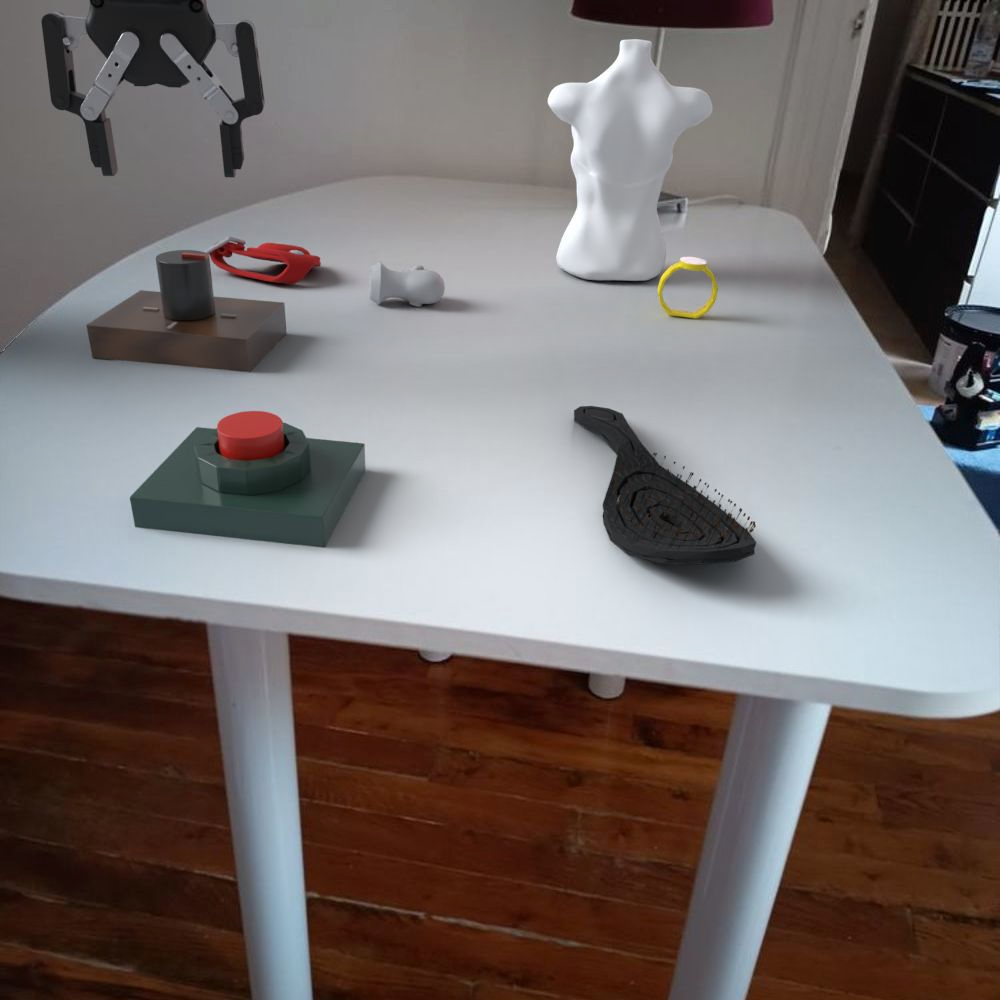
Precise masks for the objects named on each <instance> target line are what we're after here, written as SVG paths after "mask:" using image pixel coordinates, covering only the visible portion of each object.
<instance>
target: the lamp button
mask: <svg viewBox="0 0 1000 1000" xmlns="http://www.w3.org/2000/svg"><path fill="white" fill-rule="evenodd" d="M283 422H284V421H283V420H282V418H281V417H280V416H279V415H277V414H275V413H272V412H269V411H268V412H267V411H261V410H245V411H239V412H234V413H231V414H228V415H227V416H224V417H223V418H221V419H220V420H219V421H218V422H217V425H216V428H217V432H218V440H219V448H220V453H221V455H222V456H224V457H226V458H228V459H234V460H244V461H251V460H258V459H265V458H270V457H272V456H275V455H277V454H279V453H281V452H283V450H284V448H285V445H284V432H283Z"/></svg>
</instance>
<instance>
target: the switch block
mask: <svg viewBox="0 0 1000 1000" xmlns="http://www.w3.org/2000/svg"><path fill="white" fill-rule="evenodd" d="M282 422H283V432H284V445H285V448H284V450H283V452H281V453H279V454H277V455H275V456H272V457H270V458H265V459H258V460H251V461H244V460H234V459H228V458H226V457H224V456H222V455H221V453H220V448H219V440H218V432H217V427H216V428H210V427H201V426H196V427H195V428H194V430H192V432H191V433H189V434H188V435H187V437H186V438H185V439H183V441H182V442H181V443H180V444H179V445H178V446H177V447H176V448H175V449H174V450H173V451H172V452H171V453H170V454H169V455H168V457H166V459H164V461H163V462H162V463H161V464H160V465H159V466H158V467H157V468H156V469H155V470H154V471H153V472H152V473H151V474H150V475H149V477H147V479H145V480H144V482H142V483H141V484H140V485H139V487H138V488H136V490H135V491H134V492H133V493H132V494H131V495H130V496H129V502H130V506H131V507H130V508H131V513H132V518H133V524H134V528H138V529H139V528H140V529H148V530H150V529H151V530H157V531H167V532H168V531H169V532H178V533H186V534H193V535H194V534H195V535H203V536H204V535H205V536H212V537H213V536H214V537H221V538H222V537H224V538H233V539H242V540H249V541H250V540H251V541H261V542H268V543H269V542H270V543H277V544H278V543H279V544H287V545H296V546H306V547H315V548H325V547H326V546H327V544H328V541H329V540H330V538H331V536H332V534H333V533H334V531H335V529H336V527H337V526H338V523H339V521H340V519H341V518H342V516H343V514H344V512H345V510H346V508H347V507H348V504H349V503H350V501H351V499H352V497H353V495H354V493H355V492H356V490H357V487H358V486H359V484H360V482H361V480H362V478H363V476H364V475H365V473H366V445H365V443H364V442H363V443H362V442H352V441H343V440H333V439H322V438H312V437H307V436H306V434H305V432H304V430H303V429H300V428H298V427H296V426H293V425H291V424H289V423H287V422H284V421H282Z"/></svg>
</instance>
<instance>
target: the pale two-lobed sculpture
mask: <svg viewBox="0 0 1000 1000" xmlns="http://www.w3.org/2000/svg"><path fill="white" fill-rule="evenodd" d="M445 290H446V286H445V280H444V278H443V277H442V275H441V274H440V273H438V272H437V271H434V270H430V269H425V267H424V265H413V266H411V267H410V268H407V269H403V270H400V271H398V270H392V269H389V268H388V267H386V266H385V264H384V263H382V261H379V262H377V263H374V264H373V265H371V266H370V270H369V277H368V296H369V297H368V298H369V300H371V301H372V302H374V303H375V304H376V305H380V304H381V303H383V301H386V300H387V299H391V298H392V299H393V298H395V299H401V300H403V301H406V302H408V303H409V305H411V306H414V307H417V308H421V307H422V305H433V304H435V303H438V302H439V301H440V300H441V299H442V298H443V296H444V294H445Z"/></svg>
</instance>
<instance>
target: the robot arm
mask: <svg viewBox="0 0 1000 1000" xmlns="http://www.w3.org/2000/svg"><path fill="white" fill-rule="evenodd" d="M40 23H41V29H42V30H41V31H42V39H43V47H44V54H45V61H46V63H45V64H46V71H47V77H48V78H47V79H48V87H49V95H50V96H49V97H50V102H51V104H52V106H53V107H54V108H55V109H57V110H58V111H66V112H68V113H71V114H73V115H76V116H78V117H79V118H80V119H82V121H83V123H84V126H85V133H86V139H87V146H88V150H89V156H90V161H91V163H92V165H93V167H94V168H100V169H101V174H102V176H103V177H115V176H116V174H117V173H118V170H119V169H118V161H117V155H116V149H115V143H114V135H113V129H112V123H111V118H110V117H107V115H106V110H107V109H108V107H109V105H110V104H111V102H112V100H113V99H114V97H115V96H116V94H117V92H118V91H119V90H120V88H121V87H122V85H123V84H124V82H125V81H126V82H127V83H129V84H132V85H133V87H145V88H146V87H149V86H153V85H160V86H164V87H167V88H176V89H177V88H179V89H181V88H182V87H184V86H186V85H189V83H191V85H192V86H193V87H194V89H195V90H196V91H197V92H198V94H200V96H201V97H202V98H203V99H204V100H206V102H208V104H209V105H210V106H211V108H212V109H213V110H214V111H215V112H216V114H217V115H218V116H219V117H220V119H221V121H220V124H219V134H220V135H219V136H220V144H221V155H222V166H223V175H224V178H233V179H234V178H236V176H237V170H242V167H243V164H244V162H245V153H244V140H243V130H242V122H243V121H244V120H245V119H248V118H250V117H254V116H258V115H260V114H261V113H262V112H263V110H264V107H265V103H266V101H265V93H264V87H263V77H262V71H261V62H260V55H259V47H258V41H257V33H256V26H255V24H253V22H252V21H250V20H248V19H243V20H241V21H240V22H231V23H229V22H228V23H227V22H226V23H215V22H214V20H213V19H212V17H211V15H210V13H209V10H208V5H207V0H89V8H88V13H87V16H86V17H81V16H75V15H74V16H73V15H66V14H64V13H63V12H61V11H53V12H48V13H46V14H44V15H43V16H42V18H41V22H40ZM86 34H87V36H88V38H89V39H90V40H91V42H92V43H93V44H94V45H95V47H97V49H98V50H99V51H100V53H101V54H102V55H103V56H104V57H105V59H106V61H105V63H104V64H103V66H102V68H101V70H100V71H99V73H98V74H97V76H96V78H95V80H94V81H93V84H92V87H90V89H89V91H88V93H87V95H86V94H84V93H81V92H79V91H78V90H77V83H76V73H75V63H74V54H73V51H74V50H77V49H79V48H80V46H81V43H82V37H84V35H86ZM217 40H220V41H221V42H222V43H223V44H224V45H225V47H226V50H227V52H228V53H229V54H230V56H232V57H235V58H238V60H239V65H240V66H239V67H240V75H241V81H242V89H243V96H244V97H241V98H238V99H234V98H233V97H232V95H231V94H230V93H229V92H228V90H227V89H226V88H225V87H224V84H222V82H221V80H220V79H219V78H218V76H217V75H216V74H215V72H214V71H213V70H212V69H211V67H210V66H209V65H208V64H207V62H206V61H205V60H206V59H207V58H208V55H209V54H210V52H211V51H212V48H213V47H214V45H215V44H216V42H217Z"/></svg>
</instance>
